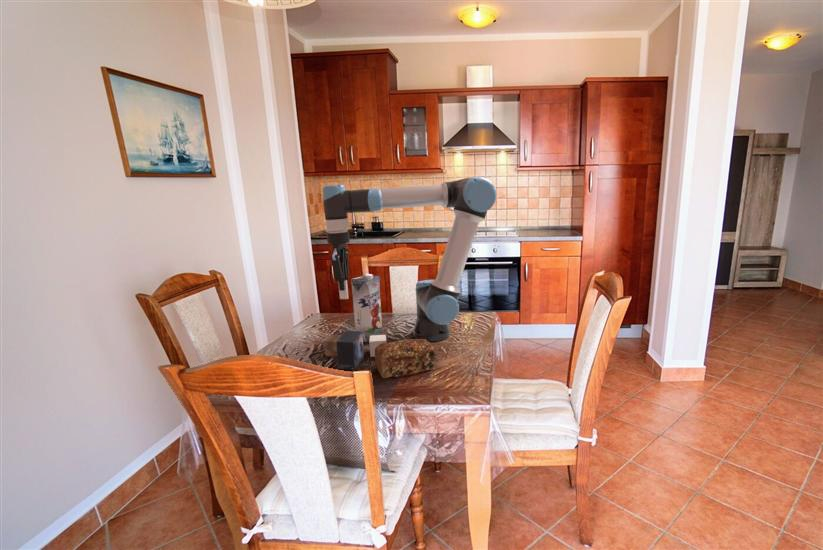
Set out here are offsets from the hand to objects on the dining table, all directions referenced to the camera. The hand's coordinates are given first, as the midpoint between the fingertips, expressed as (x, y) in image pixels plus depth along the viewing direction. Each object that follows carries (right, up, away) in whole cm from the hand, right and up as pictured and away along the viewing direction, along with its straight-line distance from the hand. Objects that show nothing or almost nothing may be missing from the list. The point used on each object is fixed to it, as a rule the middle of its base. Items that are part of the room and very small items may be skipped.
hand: (344, 298), depth 138 cm
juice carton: (+6, -18, +23) cm, 30 cm away
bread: (+22, -24, -5) cm, 33 cm away
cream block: (+11, -21, +8) cm, 25 cm away
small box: (+3, -23, 0) cm, 23 cm away
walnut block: (-5, -21, +9) cm, 24 cm away
